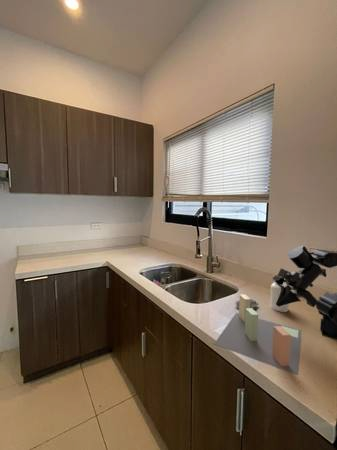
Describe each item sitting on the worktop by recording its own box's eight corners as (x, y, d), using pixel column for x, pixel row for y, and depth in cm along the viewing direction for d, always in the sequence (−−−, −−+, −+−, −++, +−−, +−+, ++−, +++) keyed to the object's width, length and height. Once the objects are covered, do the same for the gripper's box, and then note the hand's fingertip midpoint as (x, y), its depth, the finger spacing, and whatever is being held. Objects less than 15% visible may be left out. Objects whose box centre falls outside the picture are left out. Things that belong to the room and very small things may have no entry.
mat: (301, 331, 88) (301, 330, 88) (297, 376, 65) (297, 374, 65) (236, 313, 102) (236, 312, 102) (213, 345, 79) (213, 343, 79)
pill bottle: (271, 303, 113) (273, 275, 112) (289, 308, 109) (291, 278, 107) (268, 309, 107) (270, 279, 106) (287, 314, 102) (288, 283, 101)
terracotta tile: (279, 354, 73) (280, 326, 72) (288, 365, 68) (290, 334, 68) (272, 355, 73) (273, 326, 72) (281, 366, 68) (283, 335, 67)
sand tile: (244, 315, 99) (245, 294, 98) (249, 321, 94) (250, 299, 93) (238, 316, 99) (239, 294, 98) (243, 322, 94) (244, 299, 93)
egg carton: (246, 314, 102) (246, 306, 102) (233, 308, 108) (233, 300, 108) (260, 309, 108) (260, 300, 107) (247, 303, 114) (247, 295, 114)
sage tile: (250, 332, 86) (251, 308, 85) (257, 340, 81) (258, 314, 80) (244, 333, 86) (245, 308, 85) (250, 340, 81) (251, 314, 80)
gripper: (278, 256, 92) (251, 282, 92) (311, 268, 73) (278, 302, 73) (294, 274, 93) (268, 300, 93) (331, 291, 75) (299, 323, 75)
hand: (277, 305), depth 83 cm, fingers closed
